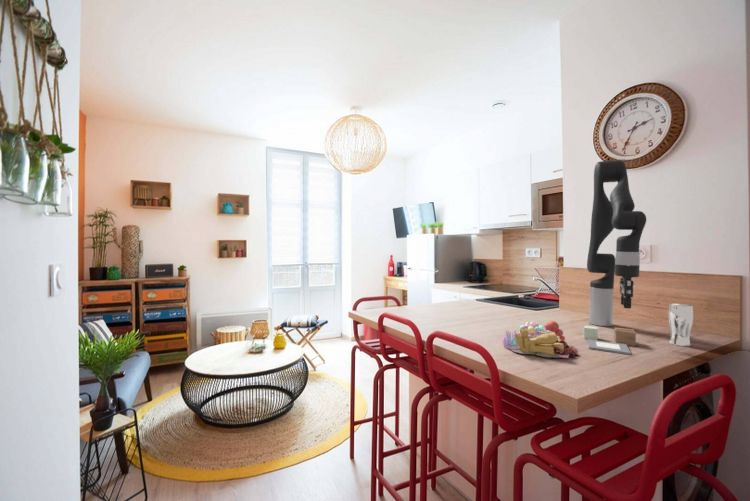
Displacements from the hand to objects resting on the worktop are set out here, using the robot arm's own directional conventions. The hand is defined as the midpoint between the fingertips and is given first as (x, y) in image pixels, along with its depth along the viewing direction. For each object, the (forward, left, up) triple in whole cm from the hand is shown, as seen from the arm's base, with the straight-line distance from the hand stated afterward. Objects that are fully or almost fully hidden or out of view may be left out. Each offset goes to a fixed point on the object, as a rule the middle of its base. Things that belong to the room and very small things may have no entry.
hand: (625, 306), depth 131 cm
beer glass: (-10, +18, -14) cm, 25 cm away
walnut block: (0, 0, -14) cm, 14 cm away
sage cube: (0, -11, -14) cm, 18 cm away
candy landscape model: (+26, -28, -14) cm, 41 cm away
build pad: (+11, -6, -14) cm, 19 cm away
